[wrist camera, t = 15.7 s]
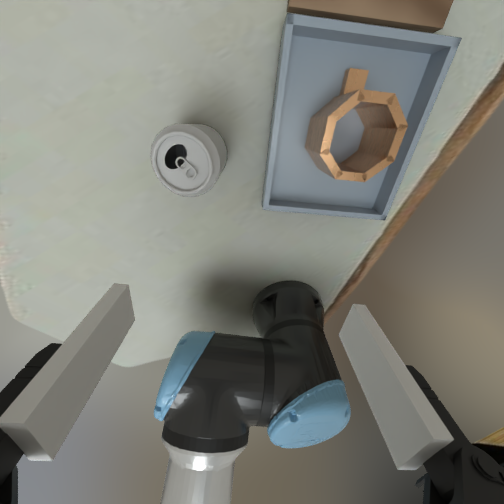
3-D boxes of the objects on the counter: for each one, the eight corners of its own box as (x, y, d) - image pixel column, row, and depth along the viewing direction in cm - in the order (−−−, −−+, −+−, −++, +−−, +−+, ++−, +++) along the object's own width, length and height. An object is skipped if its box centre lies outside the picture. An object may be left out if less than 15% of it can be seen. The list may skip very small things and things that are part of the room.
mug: (357, 172, 34) (385, 184, 27) (300, 166, 34) (314, 177, 27) (388, 76, 28) (433, 60, 22) (319, 67, 28) (343, 48, 21)
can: (199, 110, 30) (174, 103, 20) (238, 153, 33) (233, 166, 23) (166, 151, 33) (129, 163, 22) (205, 188, 36) (187, 214, 25)
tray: (374, 212, 38) (385, 220, 35) (261, 202, 37) (262, 209, 34) (438, 47, 27) (461, 37, 24) (282, 25, 26) (287, 12, 23)
